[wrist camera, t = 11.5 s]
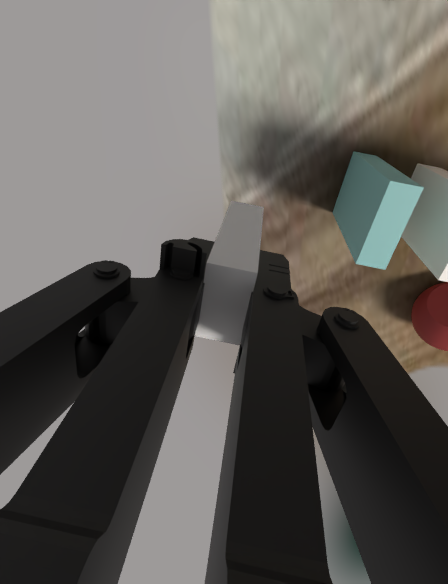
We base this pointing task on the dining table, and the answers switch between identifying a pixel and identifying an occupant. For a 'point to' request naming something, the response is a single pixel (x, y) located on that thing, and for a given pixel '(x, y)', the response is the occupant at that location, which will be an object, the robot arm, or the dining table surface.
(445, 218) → the domino
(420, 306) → the fruit
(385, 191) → the domino
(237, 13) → the dining table surface
